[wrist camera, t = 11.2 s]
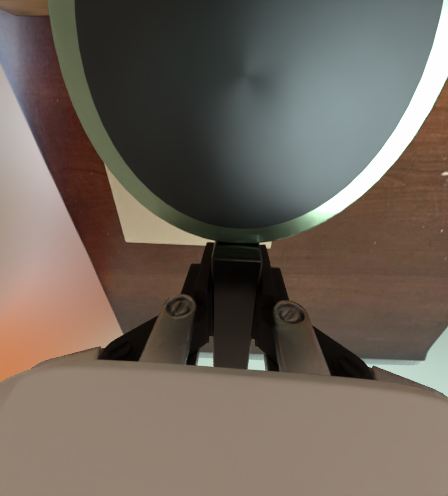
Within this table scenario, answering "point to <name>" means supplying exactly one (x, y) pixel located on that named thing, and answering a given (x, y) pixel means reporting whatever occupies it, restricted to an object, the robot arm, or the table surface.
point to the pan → (249, 115)
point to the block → (25, 7)
